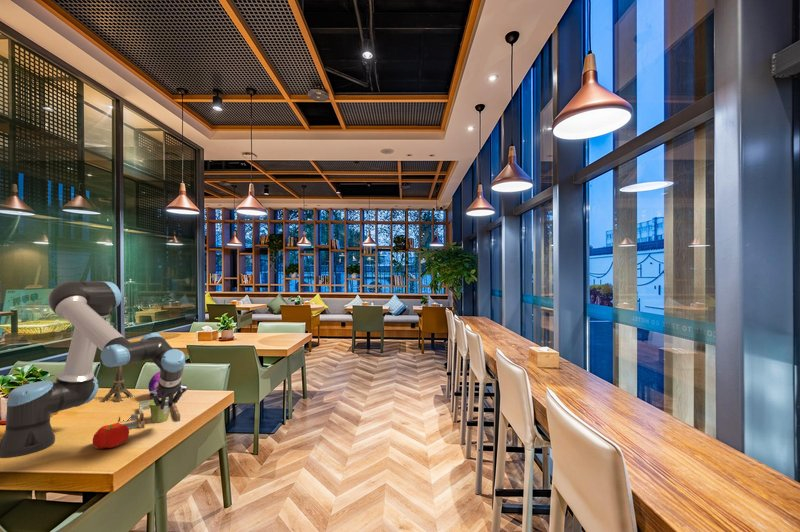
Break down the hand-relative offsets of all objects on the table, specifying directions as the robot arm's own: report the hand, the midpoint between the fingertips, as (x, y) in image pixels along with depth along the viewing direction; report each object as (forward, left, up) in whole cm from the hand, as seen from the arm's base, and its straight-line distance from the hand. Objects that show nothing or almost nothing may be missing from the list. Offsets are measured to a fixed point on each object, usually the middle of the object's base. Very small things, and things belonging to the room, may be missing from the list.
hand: (165, 411), depth 151 cm
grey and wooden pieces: (+16, +14, -8) cm, 23 cm away
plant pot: (+11, +7, -8) cm, 15 cm away
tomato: (-15, +12, -8) cm, 20 cm away
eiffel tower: (+46, +46, -8) cm, 66 cm away
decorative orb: (+45, +22, -8) cm, 51 cm away
